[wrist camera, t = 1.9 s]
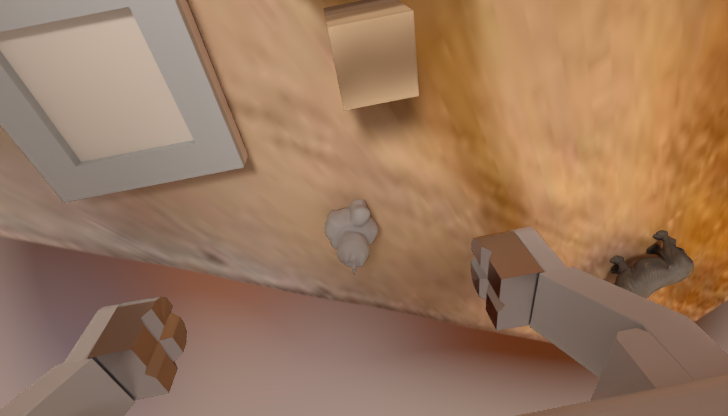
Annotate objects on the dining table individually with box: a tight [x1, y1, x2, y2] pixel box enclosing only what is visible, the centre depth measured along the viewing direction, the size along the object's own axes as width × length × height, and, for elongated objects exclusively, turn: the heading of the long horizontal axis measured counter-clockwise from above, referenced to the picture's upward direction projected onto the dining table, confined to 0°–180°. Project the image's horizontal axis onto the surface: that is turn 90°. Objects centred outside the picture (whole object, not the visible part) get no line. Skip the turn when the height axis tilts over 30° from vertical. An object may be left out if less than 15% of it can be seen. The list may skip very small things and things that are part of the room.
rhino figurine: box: [610, 231, 694, 298], centre depth 46 cm, size 4×14×6 cm, turn 135°
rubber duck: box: [325, 199, 378, 274], centre depth 35 cm, size 5×7×8 cm
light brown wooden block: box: [324, 0, 419, 110], centre depth 25 cm, size 5×5×8 cm
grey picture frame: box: [0, 0, 248, 203], centre depth 27 cm, size 16×16×2 cm
